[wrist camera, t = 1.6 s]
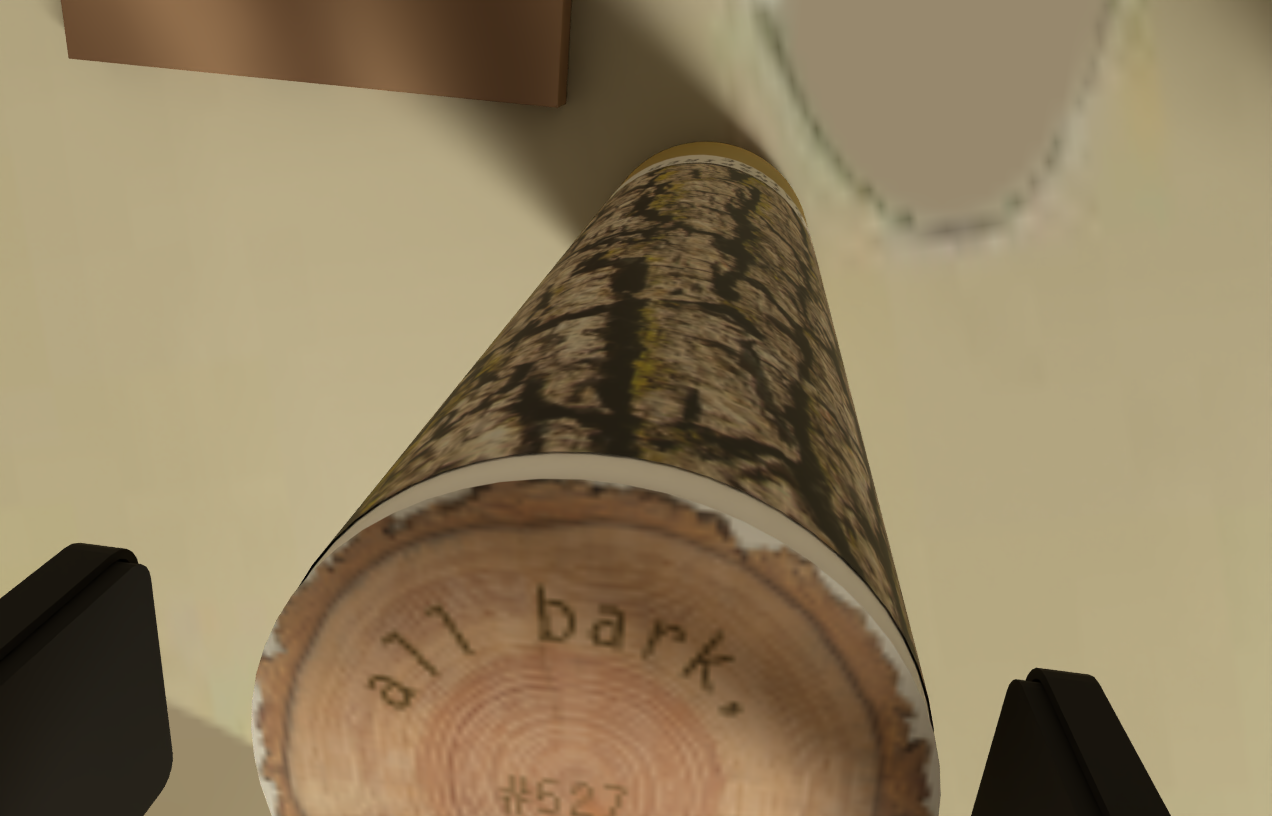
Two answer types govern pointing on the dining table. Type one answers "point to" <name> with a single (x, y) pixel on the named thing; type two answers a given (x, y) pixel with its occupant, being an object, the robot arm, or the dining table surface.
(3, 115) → the dining table surface
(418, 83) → the board
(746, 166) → the bark print can
